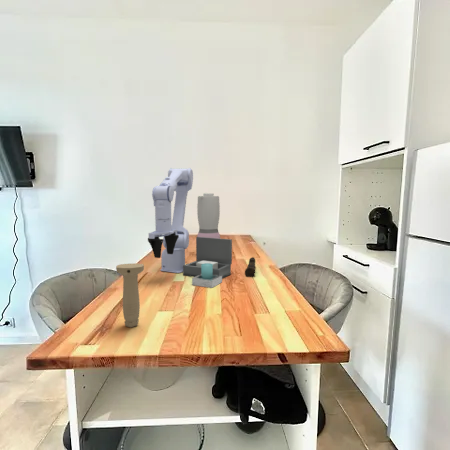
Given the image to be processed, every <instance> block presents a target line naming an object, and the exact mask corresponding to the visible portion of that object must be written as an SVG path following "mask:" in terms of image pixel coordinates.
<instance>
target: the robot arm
mask: <svg viewBox="0 0 450 450" xmlns="http://www.w3.org/2000/svg"><path fill="white" fill-rule="evenodd" d="M193 180H194V173H193V169H192V168H191V167H188V168H172V167H170V168H169V169H168V171H167V176H165V178H164V179H163V180H162V182H161V183H160V184H159V185H156V186H154V187H153V189H152V193H151V196H152V201H153V207H154V214H155V215H154V217H155V218H154V220H155V221H154V223H155V224H154V225H155V230H154V231H151V232H148V238H147V242H148V243H149V245H150V247H151V249H152V253H153V256H154V258H155V259H161V263H160V264H161V269H159V270H160V271H161V272H166V273H167V272H168V273H173V274H174V273H176V274H180V273H183V265H186V250H187V249H188V247H189V245H190V238H189V237H190V233H189V231H188V229H187V228H185V226H184V223H185V214H186V207H187V206H186V205H187V199H188V198H187V197H188V193H189V191H191V190H192V188H193V182H194V181H193ZM174 195H175V199H174ZM173 200H174V207H173V212H172V202H173ZM172 213H173V214H172ZM162 245H163V248H164V249H163V250H162Z"/></svg>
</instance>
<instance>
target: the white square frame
mask: <svg viewBox="0 0 450 450" xmlns="http://www.w3.org/2000/svg"><path fill="white" fill-rule="evenodd" d="M221 283H223V279H222V275H214V274H213V279H211V280H210V279H203V278H201V274H200V275H198V276H196V277H192V278H191V285H192V286H196V287H203V288H210V289H213V288H215V287H216V286H218V285H220V284H221Z"/></svg>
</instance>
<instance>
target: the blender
mask: <svg viewBox="0 0 450 450" xmlns="http://www.w3.org/2000/svg"><path fill="white" fill-rule="evenodd" d="M220 203H221V202H220V196H219V195H214V193H207V192H205V193H203V195H198V196H197V204H196V205H197V206H196V209H197V211H196V212H197V213H196V214H197V221H198V222H197V223H198V227H199V228H198V232H197V235H196V237H206V238H219V239H221V236H220V235H221V234H220V232H219V223H220V212H221V210H220V209H221V208H220V207H221V206H220Z"/></svg>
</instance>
